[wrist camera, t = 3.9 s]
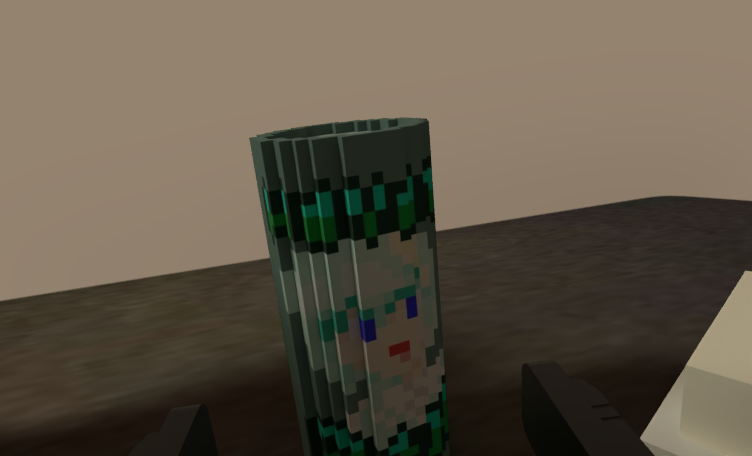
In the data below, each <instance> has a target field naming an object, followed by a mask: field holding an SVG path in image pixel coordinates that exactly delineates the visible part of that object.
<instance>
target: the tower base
mask: <svg viewBox="0 0 752 456" xmlns="http://www.w3.org/2000/svg"><path fill="white" fill-rule="evenodd" d="M640 439H641V440H642V441H643V442H644V444H645V445H646V446H647V447H648V448H649V449H650V451H651V452H652V453H653V454H654V455H655V456H752V272H750V271H745V273H744V274H743V276H742V277H741V279H740V281H739V282H738V284H737V285H736V287H735V288H734V290H733V292H732V293H731V295H730V296H729V298H728V300H727V301H726V303H725V304H724V306H723V307H722V309H721V311H720V312H719V314H718V315H717V317H716V318H715V320H714V322H713V323H712V325H711V326H710V328H709V329H708V331H707V333H706V334H705V336H704V337H703V339H702V340H701V342H700V344H699V345H698V347H697V348H696V350H695V352H694V353H693V355H692V356H691V358H690V359H689V361H688V363H687V364H686V366H685V368H684V369H683V371H682V373H681V374H680V376H679V377H678V379H677V381H676V382H675V384H674V385H673V387H672V388H671V390H670V392H669V393H668V395H667V396H666V398H665V399H664V401H663V403H662V404H661V406H660V407H659V409H658V411H657V412H656V414H655V415H654V417H653V418H652V420H651V422H650V423H649V425H648V426H647V428H646V429H645V431H644V433H643V434H642V436H641V437H640Z"/></svg>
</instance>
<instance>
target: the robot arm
mask: <svg viewBox="0 0 752 456" xmlns="http://www.w3.org/2000/svg"><path fill="white" fill-rule="evenodd" d="M522 418H523V424H524V429H525V432H526V435H527V438H528V440H529V442H530V444H531V446H532V448H533V450H534V452H535V454H536V455H537V456H655V455H654V454H653V453H652V452H651V451H650V449H649V448H648V447H647V446H646V445H645V444H644V442H643V441H642V440H641V439H640V438H639V437H638V435H637V434H636V433H635V432H634V431H633V430H632V428H631V427H630V426H629V425H628V424H627V423H626V421H625V420H624V419H621V415H620V414H619V413H618V412H617V411H616V410H615V408H614V407H613V406H612V407H611V405H610V403H609V401H608V400H607V399H606V398H605V397H604V396H603V394H602V393H601V392H600V391H599V390H598V389H597V388H596V387H594V386H592V385H591V384H589V383H587V382H586V381H584V380H582V379H581V378H579V377H578V378H570V379H569V378H568V376H567V375H566V374H565V373H564V371H563V370H562V369H561V368H560V366H559V365H558V364H557V363H556V361H554V360H548V361H540V362H532V363H525V364H523V366H522ZM128 456H218V452H217V447H216V443H215V439H214V435H213V430H212V426H211V422H210V418H209V413H208V410H207V407H206V406H205V405H204V404H199V405H191V406H183V407H176V408H172V409H171V410H170V411H169V413H168V415H167V417H166V419H165V421H164V423H163V425H162V426H161V428H160V430H159V431H157V432H149V433H148V434H147V435H146V436H145V437H144V438H143V439H142V440H141V441H140V442H139V443H138V444H137V445H136V446H135V447H134V448H133V449H132V450H131V451H130V453H129V455H128Z"/></svg>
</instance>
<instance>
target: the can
mask: <svg viewBox="0 0 752 456" xmlns="http://www.w3.org/2000/svg"><path fill="white" fill-rule="evenodd" d="M249 139H250V144H251V150H252V156H253V162H254V168H255V173H256V179H257V185H258V191H259V197H260V202H261V208H262V214H263V219H264V226H265V231H266V237H267V243H268V249H269V254H270V260H271V266H272V272H273V278H274V284H275V289H276V295H277V301H278V307H279V313H280V318H281V324H282V330H283V336H284V342H285V347H286V353H287V359H288V365H289V371H290V376H291V382H292V388H293V394H294V400H295V405H296V411H297V417H298V423H299V429H300V434H301V440H302V446H303V452H304V456H450V446H449V430H448V415H447V399H446V384H445V368H444V353H443V337H442V322H441V306H440V291H439V275H438V260H437V244H436V229H435V213H434V198H433V183H432V166H431V151H430V135H429V121H427V119H421V118H395V119H388V118H382V119H369V120H356V121H349V122H341V123H340V122H335V123H327V124H320V125H312V126H305V127H297V128H291V129H288V130H280V131H274V132H271V133H265V134H262V135H257V137H253V138H249Z"/></svg>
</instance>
